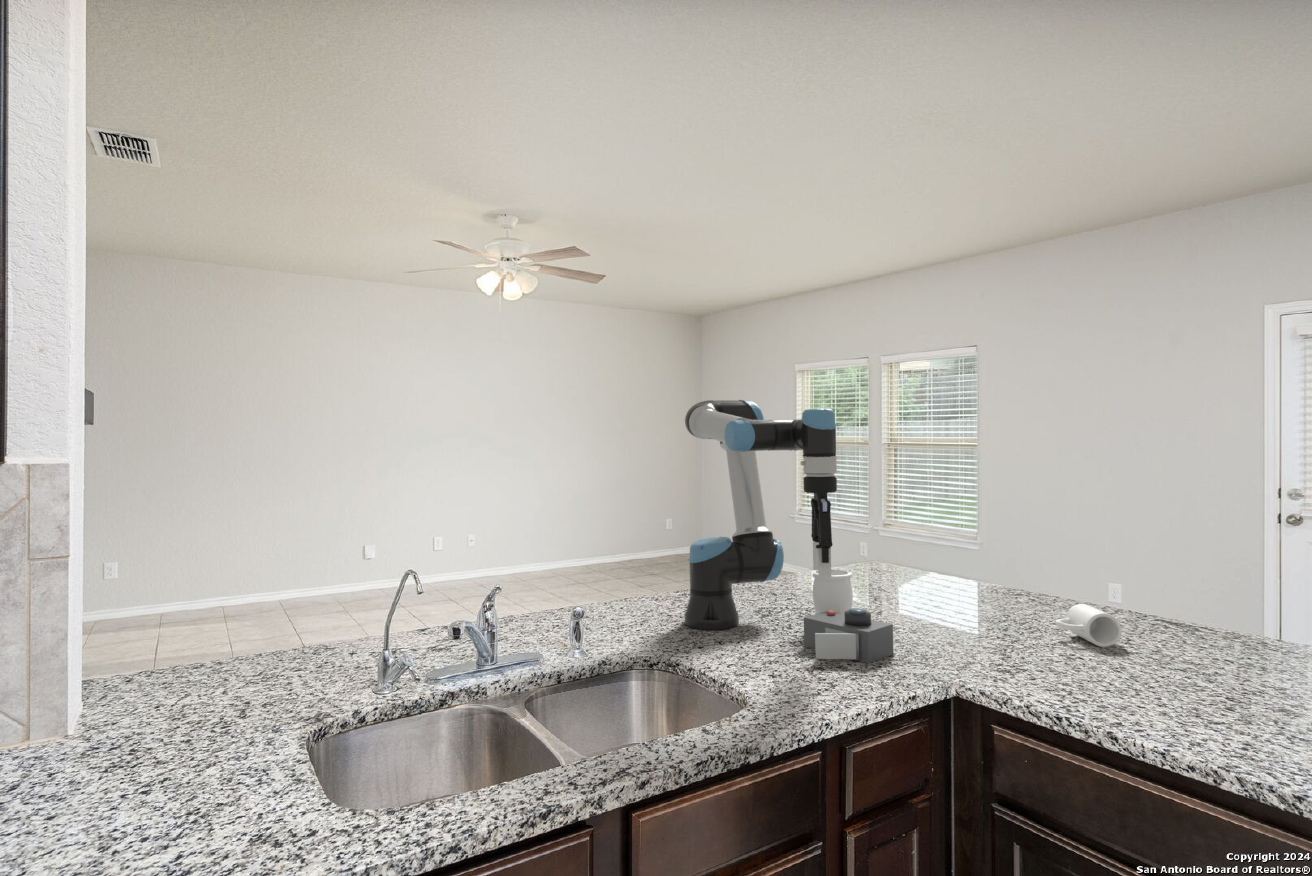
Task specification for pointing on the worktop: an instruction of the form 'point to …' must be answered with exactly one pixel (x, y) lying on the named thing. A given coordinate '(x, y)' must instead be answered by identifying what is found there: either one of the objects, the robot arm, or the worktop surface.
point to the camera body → (853, 631)
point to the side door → (837, 645)
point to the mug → (1092, 625)
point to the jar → (832, 591)
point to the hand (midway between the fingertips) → (822, 573)
